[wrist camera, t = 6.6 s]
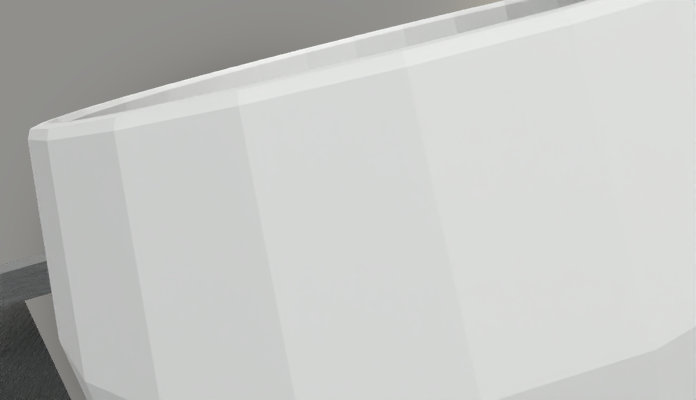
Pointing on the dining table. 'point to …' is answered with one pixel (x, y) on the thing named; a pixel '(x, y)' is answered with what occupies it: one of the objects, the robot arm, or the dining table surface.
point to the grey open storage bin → (25, 335)
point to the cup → (391, 216)
